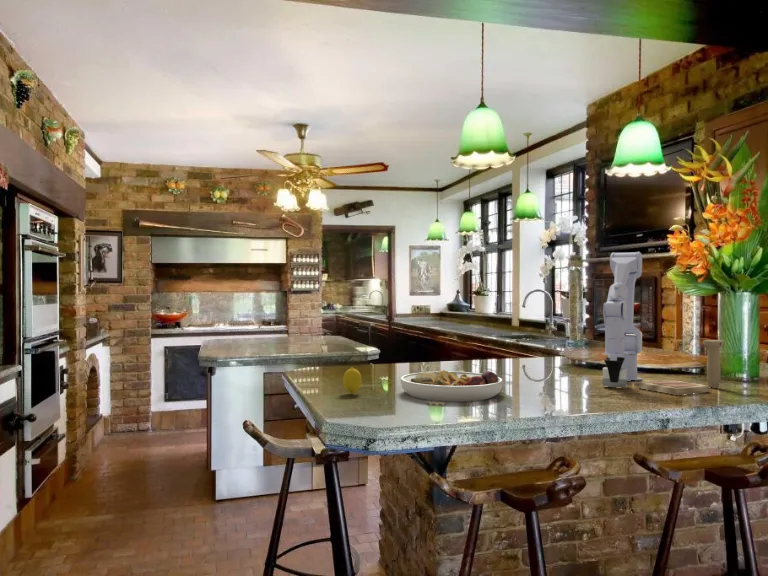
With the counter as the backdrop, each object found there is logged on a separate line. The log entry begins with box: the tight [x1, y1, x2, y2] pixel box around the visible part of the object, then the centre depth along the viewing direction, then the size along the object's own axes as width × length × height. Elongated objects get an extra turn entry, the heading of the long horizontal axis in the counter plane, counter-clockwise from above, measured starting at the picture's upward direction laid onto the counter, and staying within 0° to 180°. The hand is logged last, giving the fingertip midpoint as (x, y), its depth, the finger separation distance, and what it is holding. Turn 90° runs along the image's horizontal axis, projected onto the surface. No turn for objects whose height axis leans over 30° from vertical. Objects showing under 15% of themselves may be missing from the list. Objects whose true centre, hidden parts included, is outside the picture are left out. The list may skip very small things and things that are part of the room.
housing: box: [602, 366, 628, 389], centre depth 195 cm, size 4×7×6 cm, turn 66°
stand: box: [638, 379, 710, 396], centre depth 188 cm, size 14×14×2 cm
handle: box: [702, 339, 725, 389], centre depth 193 cm, size 5×6×15 cm
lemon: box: [342, 367, 363, 395], centre depth 181 cm, size 6×6×8 cm
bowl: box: [400, 370, 503, 403], centre depth 182 cm, size 30×30×8 cm
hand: (614, 381), depth 195 cm, fingers open, 5 cm apart
